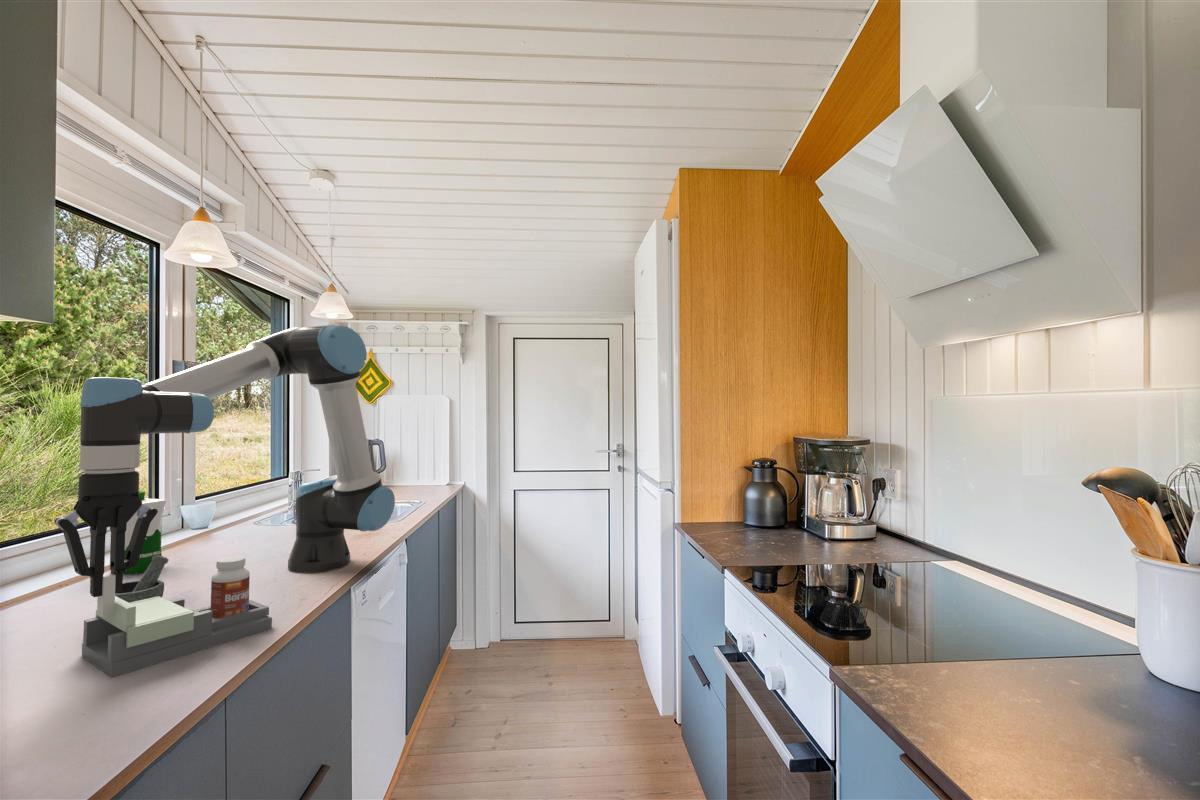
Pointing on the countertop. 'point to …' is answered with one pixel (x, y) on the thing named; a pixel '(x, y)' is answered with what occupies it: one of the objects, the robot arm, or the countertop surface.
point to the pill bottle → (230, 587)
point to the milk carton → (152, 538)
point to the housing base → (167, 638)
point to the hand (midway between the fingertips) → (105, 614)
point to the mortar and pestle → (145, 583)
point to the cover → (149, 619)
